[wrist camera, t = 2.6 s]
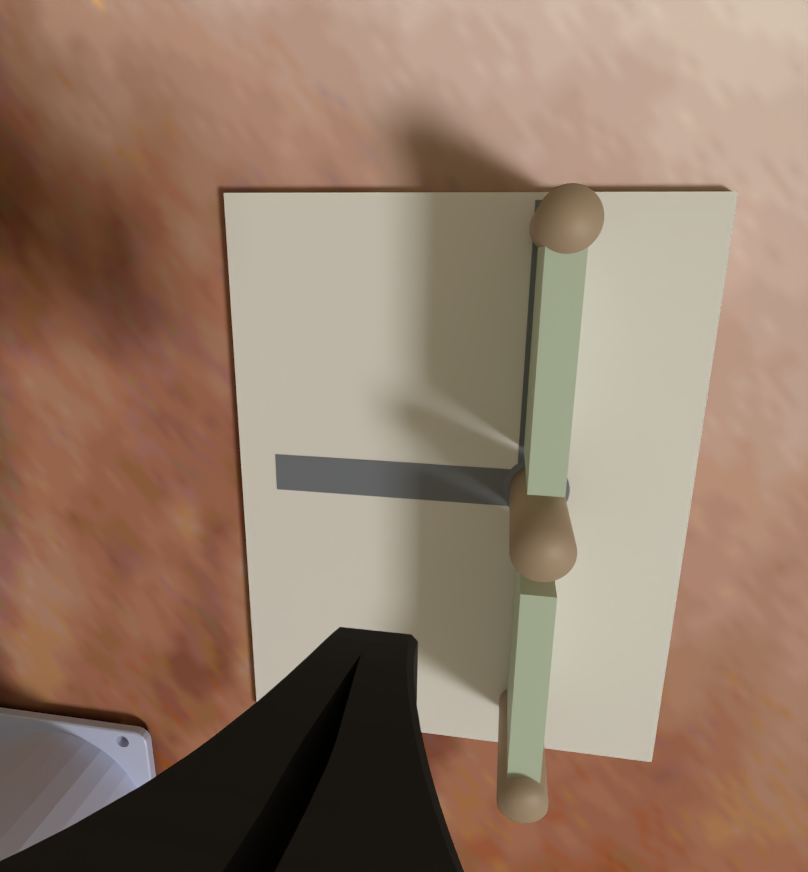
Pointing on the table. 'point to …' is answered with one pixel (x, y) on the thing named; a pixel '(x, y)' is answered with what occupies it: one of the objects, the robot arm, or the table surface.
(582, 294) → the fence fixed
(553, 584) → the fence panel
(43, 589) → the table surface
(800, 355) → the table surface
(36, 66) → the table surface
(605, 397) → the card
